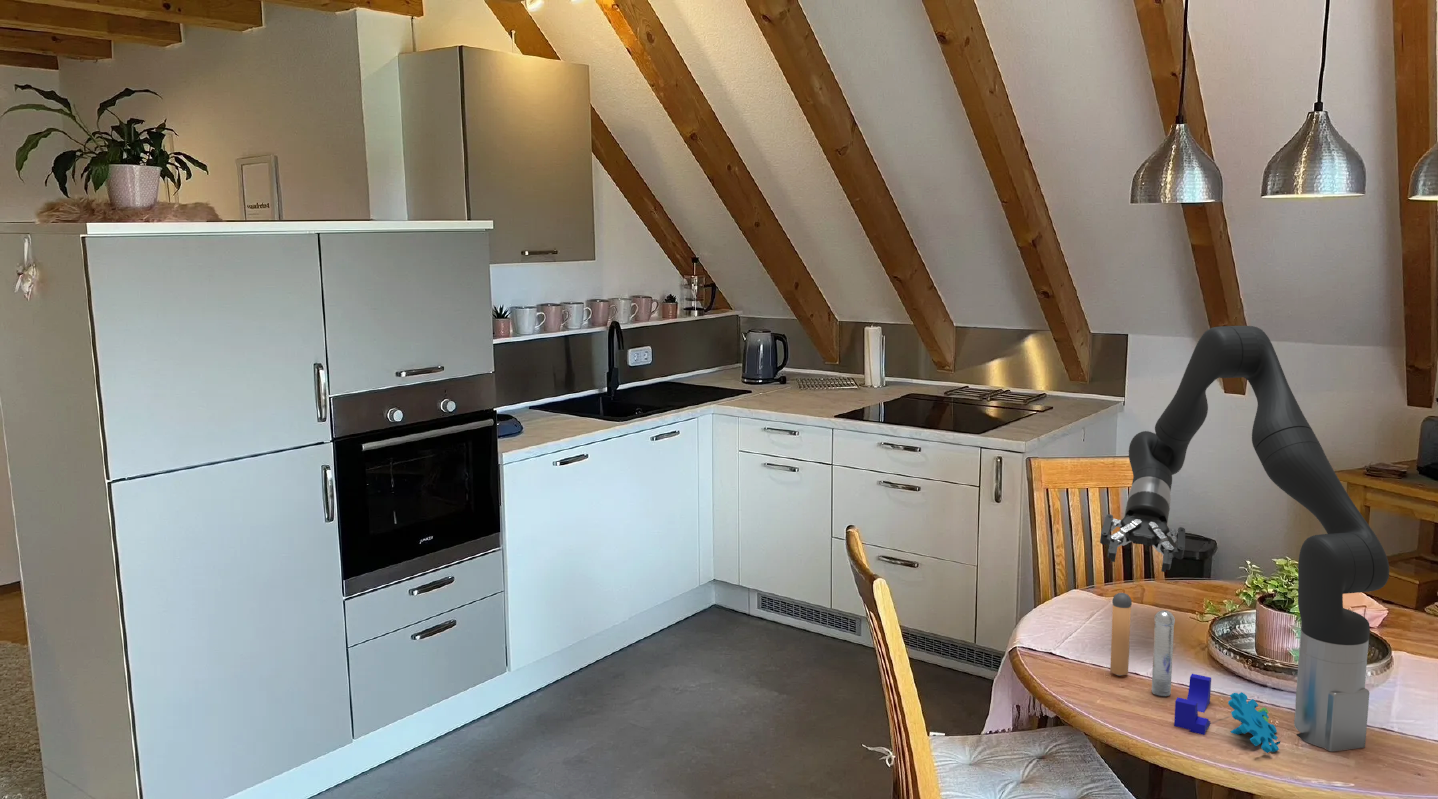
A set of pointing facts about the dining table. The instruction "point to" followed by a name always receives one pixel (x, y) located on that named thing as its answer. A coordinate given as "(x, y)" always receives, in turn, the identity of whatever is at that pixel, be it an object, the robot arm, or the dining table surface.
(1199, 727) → the cable clip
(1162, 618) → the fixed leg
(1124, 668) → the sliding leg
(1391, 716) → the dining table surface
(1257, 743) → the gear
